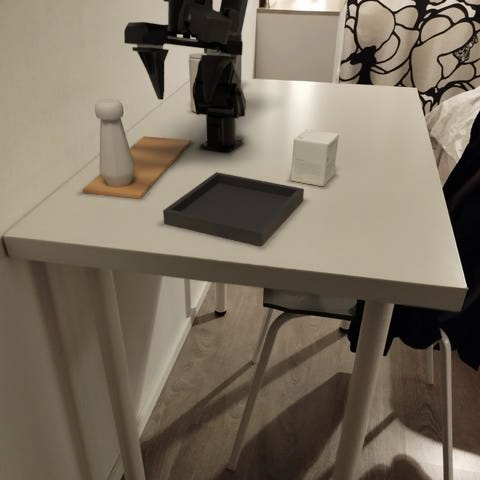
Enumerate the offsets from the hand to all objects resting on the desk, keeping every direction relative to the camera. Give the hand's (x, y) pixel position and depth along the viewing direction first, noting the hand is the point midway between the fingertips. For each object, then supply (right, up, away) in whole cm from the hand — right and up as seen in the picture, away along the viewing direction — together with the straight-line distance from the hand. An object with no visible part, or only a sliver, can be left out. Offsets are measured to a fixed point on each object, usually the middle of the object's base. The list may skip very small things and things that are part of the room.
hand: (184, 100), depth 84 cm
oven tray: (+8, -19, -4) cm, 21 cm away
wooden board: (-9, -7, +11) cm, 16 cm away
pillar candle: (+5, +25, +53) cm, 59 cm away
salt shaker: (-11, -13, +3) cm, 17 cm away
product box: (+22, -11, +7) cm, 25 cm away
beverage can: (0, +14, +39) cm, 41 cm away
